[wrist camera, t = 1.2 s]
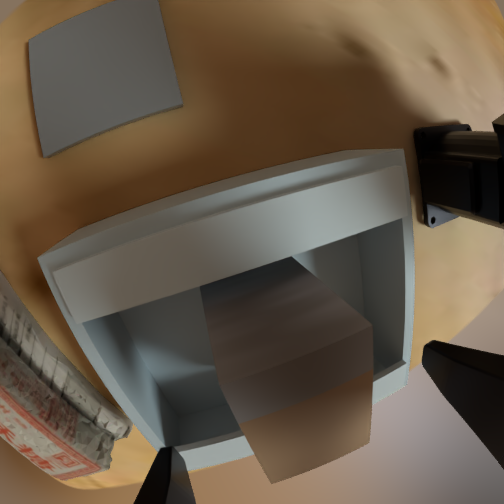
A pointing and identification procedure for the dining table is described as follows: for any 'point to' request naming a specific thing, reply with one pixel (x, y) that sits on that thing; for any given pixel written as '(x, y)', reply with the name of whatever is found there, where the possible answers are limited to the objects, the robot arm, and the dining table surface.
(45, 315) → the dining table surface
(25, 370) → the packaged product
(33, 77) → the coaster
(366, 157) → the grey open tray
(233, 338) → the block
